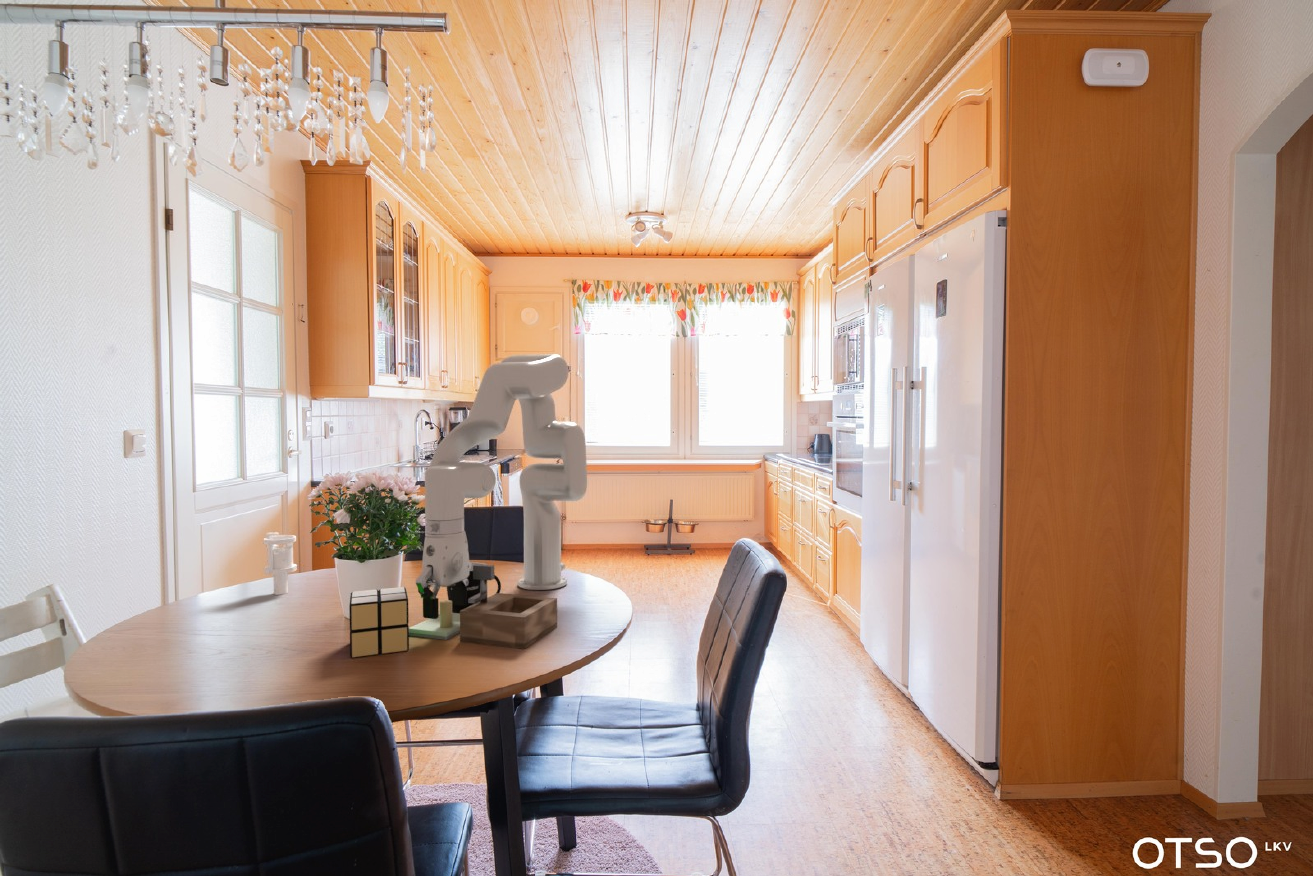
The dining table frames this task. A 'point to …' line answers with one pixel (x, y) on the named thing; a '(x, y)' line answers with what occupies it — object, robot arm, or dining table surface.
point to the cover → (439, 622)
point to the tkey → (482, 581)
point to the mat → (434, 635)
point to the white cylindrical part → (280, 560)
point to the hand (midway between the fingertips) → (445, 611)
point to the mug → (470, 590)
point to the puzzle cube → (378, 622)
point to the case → (508, 620)
